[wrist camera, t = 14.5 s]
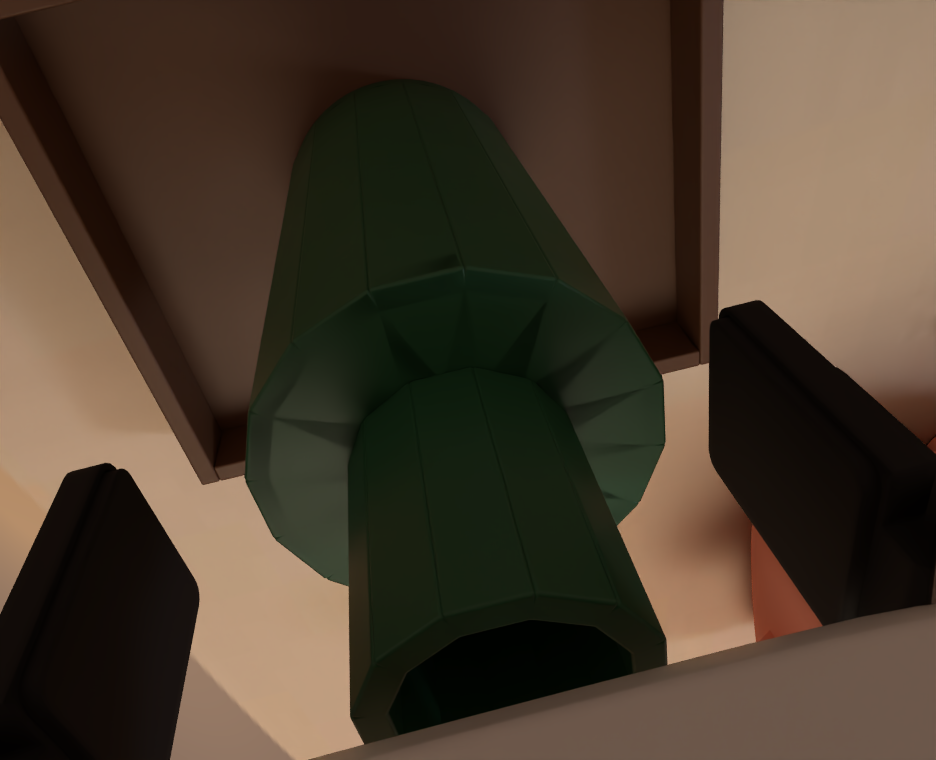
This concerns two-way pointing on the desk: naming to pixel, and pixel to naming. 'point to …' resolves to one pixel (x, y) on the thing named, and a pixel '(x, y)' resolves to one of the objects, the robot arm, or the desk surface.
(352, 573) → the bottle
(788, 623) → the teapot
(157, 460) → the desk surface
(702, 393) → the desk surface
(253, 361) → the tray
